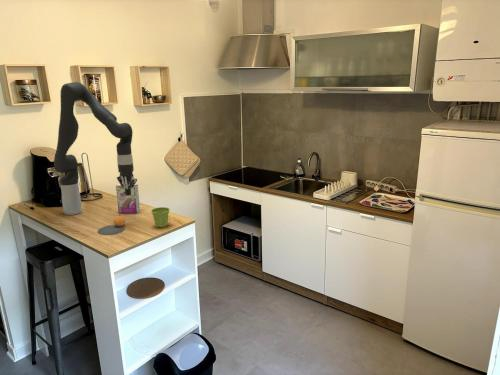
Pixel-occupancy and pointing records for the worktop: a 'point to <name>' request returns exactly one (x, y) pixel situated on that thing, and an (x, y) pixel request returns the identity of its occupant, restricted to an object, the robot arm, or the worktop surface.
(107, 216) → the worktop surface
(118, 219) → the ball
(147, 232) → the worktop surface
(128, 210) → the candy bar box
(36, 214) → the worktop surface
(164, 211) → the plant pot
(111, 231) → the disc
